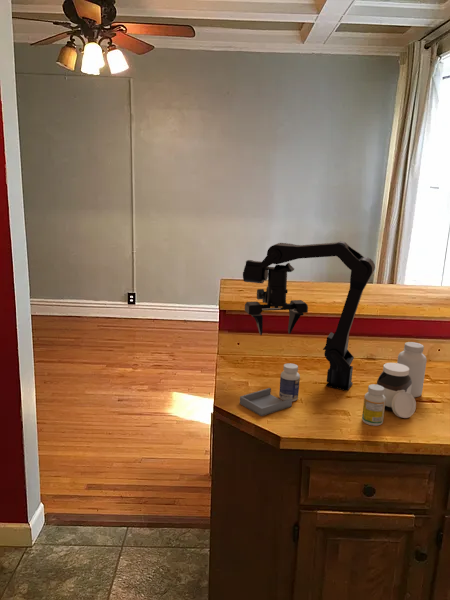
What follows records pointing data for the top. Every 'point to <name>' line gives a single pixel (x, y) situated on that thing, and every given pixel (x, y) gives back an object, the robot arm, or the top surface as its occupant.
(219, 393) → the top surface
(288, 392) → the pill bottle
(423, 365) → the pill bottle
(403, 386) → the spread jar
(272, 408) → the tray
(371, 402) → the supplement bottle
